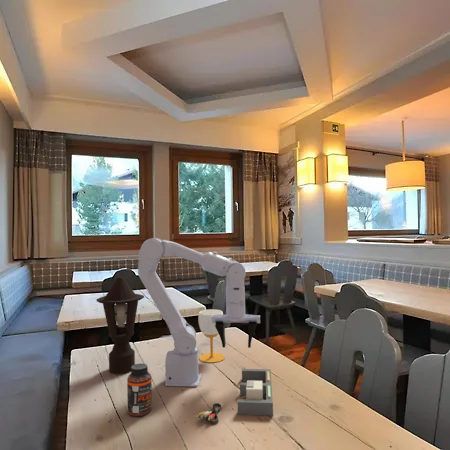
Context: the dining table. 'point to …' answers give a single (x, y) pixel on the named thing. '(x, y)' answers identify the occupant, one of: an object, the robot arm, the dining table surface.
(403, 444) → the dining table surface
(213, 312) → the cup
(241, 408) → the socket panel
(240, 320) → the robot arm
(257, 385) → the plug
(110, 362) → the lantern
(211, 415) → the composite cable
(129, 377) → the supplement bottle
